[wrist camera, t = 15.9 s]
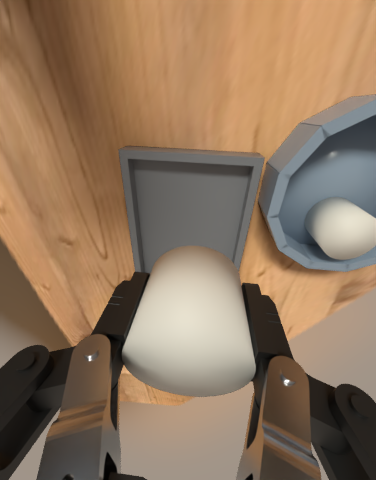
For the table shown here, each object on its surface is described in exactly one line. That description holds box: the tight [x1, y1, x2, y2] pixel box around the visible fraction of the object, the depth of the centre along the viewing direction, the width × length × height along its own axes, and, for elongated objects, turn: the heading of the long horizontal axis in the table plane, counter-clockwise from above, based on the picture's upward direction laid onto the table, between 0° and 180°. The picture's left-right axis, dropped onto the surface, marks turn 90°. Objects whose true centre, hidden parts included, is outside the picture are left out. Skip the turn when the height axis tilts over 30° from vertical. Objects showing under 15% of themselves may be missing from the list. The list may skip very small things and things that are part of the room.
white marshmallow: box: [305, 197, 376, 260], centre depth 21 cm, size 5×5×4 cm
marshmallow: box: [122, 246, 256, 397], centre depth 10 cm, size 5×5×4 cm
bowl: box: [258, 95, 376, 272], centre depth 20 cm, size 16×16×4 cm
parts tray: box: [118, 146, 264, 274], centre depth 25 cm, size 14×18×2 cm
